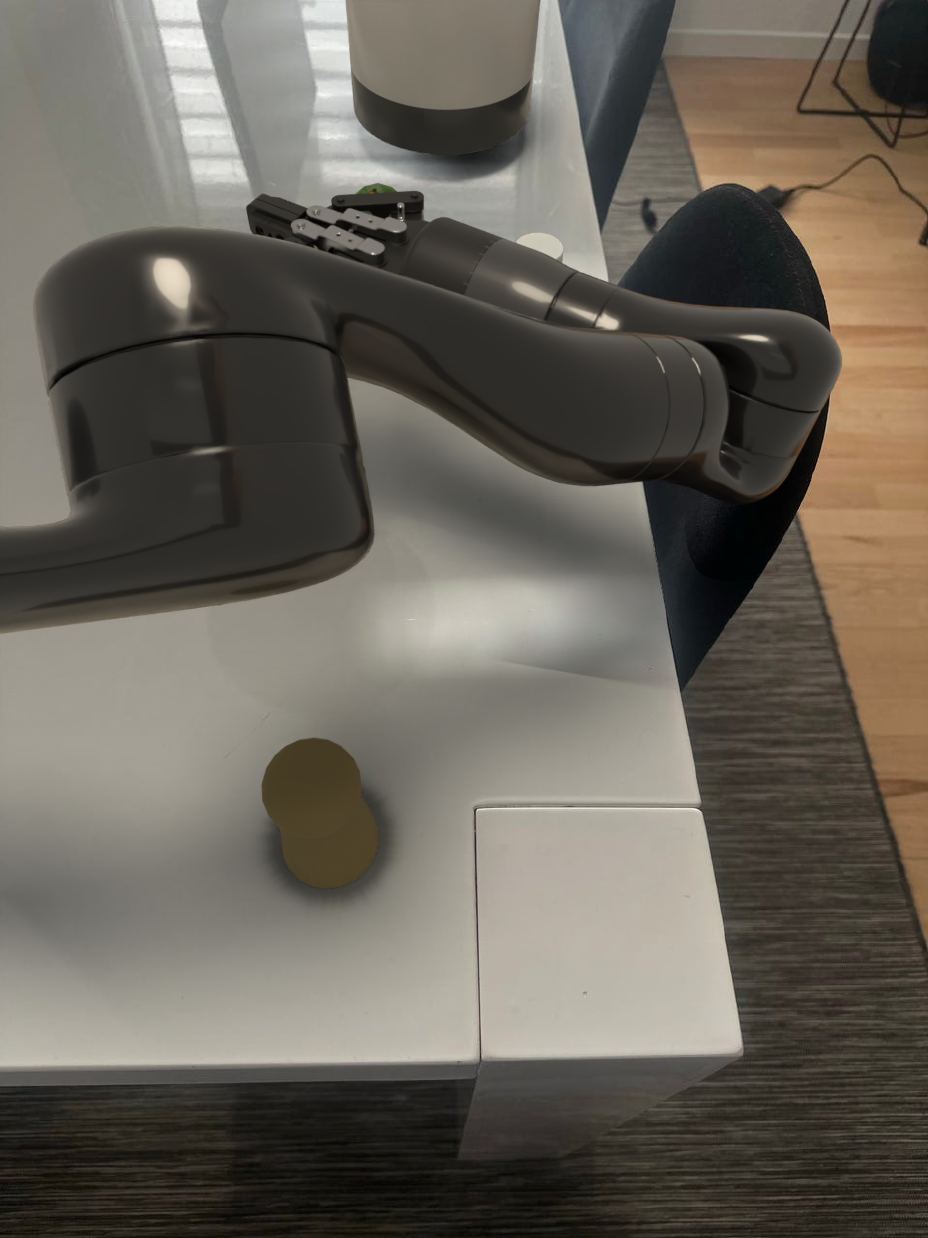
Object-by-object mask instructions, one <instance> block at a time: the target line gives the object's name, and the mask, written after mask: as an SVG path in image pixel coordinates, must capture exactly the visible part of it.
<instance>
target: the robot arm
mask: <svg viewBox="0 0 928 1238" xmlns="http://www.w3.org/2000/svg"><path fill="white" fill-rule="evenodd" d="M330 202H331V205H328V206H327V207H324V206H322V205H312V206H311V205H310V206H309V207H306V206H303V205H300V204H298V203H296V202H292V201H290V200H287V199H285V198H282V197H279V196H271V195H269V194H266V193H261V194H259V195H258V196H257V197H255V198H254V199H253V200H252V201H250V203H248V204H247V205H246V207H245V211H246V215H247V216H246V217H247V222H248V226H249V229H250V232H251V233H250V232H244V231H238V230H231V229H226V228H225V229H224V228H218V227H210V226H182V225H181V226H148V227H140V228H136V229H130V230H124V231H118V232H113V233H110V234H107V235H104V236H100V237H98V238H95V239H92V240H90V241H88V242H84V243H82V244H80V245H78V246H76V247H75V248H73V249H72V250H70V251H68V252H67V253H66V254H64V255H63V256H61V257H60V258H58V259H57V260H55V261H54V262H53V263H52V264H51V265H50V267H49V268H48V269H47V270H46V272H45V273H44V274H43V275H42V276H41V278H40V279H39V281H38V282H37V285H36V288H35V291H34V294H33V299H32V317H33V325H34V333H35V339H36V346H37V349H38V350H37V351H38V356H39V361H40V366H41V372H42V378H43V383H44V387H45V388H44V389H45V393H46V396H47V398H48V401H47V404H48V408H49V414H50V418H51V425H52V428H53V433H54V438H55V443H56V448H57V453H58V459H59V462H60V467H61V473H62V478H63V482H64V483H63V484H64V487H65V492H66V496H67V500H68V505H69V509H70V511H69V515H68V516H67V517H66V518H64V519H61V520H59V521H55V522H50V523H43V524H37V525H22V526H21V525H19V526H15V525H14V526H6V525H5V526H3V525H0V635H2V634H3V635H4V634H10V633H18V632H25V631H33V630H34V631H35V630H41V629H42V630H43V629H49V628H50V629H51V628H57V627H63V626H71V625H79V624H80V625H81V624H86V623H87V624H88V623H96V622H102V621H110V620H117V619H118V620H119V619H126V618H135V617H141V616H148V615H149V616H150V615H157V614H163V613H164V614H165V613H172V612H179V611H180V612H181V611H186V610H194V609H201V608H207V607H215V606H222V605H223V606H224V605H229V604H233V603H241V602H247V601H252V600H258V599H263V598H267V597H271V596H277V595H282V594H287V593H290V592H294V591H298V590H301V589H305V588H309V587H312V586H315V585H316V586H317V585H318V584H321V583H325V582H327V581H330V580H332V579H334V578H336V577H339V576H340V575H343V574H344V573H346V572H348V571H350V570H351V569H353V568H355V567H356V566H357V565H358V564H360V562H362V561H363V560H364V559H365V558H366V557H367V555H368V554H369V553H370V552H371V549H372V547H373V545H374V541H375V535H376V533H375V519H374V511H373V506H372V499H371V494H370V493H371V492H370V488H369V483H368V478H367V473H366V472H367V471H366V467H365V464H364V458H363V451H362V447H361V440H360V436H359V432H358V431H359V430H358V425H357V420H356V415H355V410H354V404H353V399H352V393H351V389H350V384H349V379H351V380H356V381H360V382H364V383H367V384H371V385H373V386H378V387H381V388H384V389H386V390H388V391H391V392H393V393H396V394H399V395H401V396H402V397H405V398H406V399H408V400H411V402H414V403H416V404H418V405H420V406H422V407H424V408H425V409H428V410H429V411H431V412H433V413H434V414H436V415H438V416H439V417H441V418H442V419H444V420H445V421H447V422H448V423H451V424H452V425H454V426H455V427H457V428H458V429H460V430H461V431H462V432H464V433H466V434H467V435H468V436H470V437H471V438H473V439H474V440H476V441H477V442H479V443H480V444H481V445H483V446H485V447H486V448H488V449H490V450H491V451H493V452H494V453H496V454H497V455H498V456H499V457H502V458H503V459H505V460H507V461H508V462H510V464H513V465H514V466H516V467H518V468H519V469H522V470H523V471H525V472H528V473H530V474H533V475H535V476H537V477H540V478H543V479H544V480H548V481H551V482H554V483H558V484H563V485H569V486H575V487H604V486H614V485H625V484H633V483H645V482H655V481H656V482H663V483H664V482H665V483H668V484H674V485H677V486H682V487H686V488H690V489H692V490H695V491H697V492H698V493H701V494H704V495H706V496H708V497H711V498H713V499H716V500H718V501H721V502H726V503H729V504H735V505H748V504H753V503H756V502H758V501H761V500H763V499H764V498H766V497H768V496H769V495H771V494H772V493H774V492H775V491H776V490H777V489H778V488H779V487H780V486H781V485H782V484H783V482H784V481H785V480H786V478H787V477H788V476H789V474H790V472H791V470H792V468H793V466H794V464H795V462H796V460H797V458H798V456H799V454H800V453H801V451H802V449H803V447H804V445H805V443H806V441H807V439H808V437H809V436H810V433H811V432H812V429H813V427H814V425H815V424H816V422H817V420H818V418H819V416H820V414H821V412H822V409H823V408H824V407H825V404H826V403H827V401H828V399H829V397H830V396H831V394H832V391H833V390H834V387H835V385H836V383H837V381H838V379H839V377H840V374H841V371H842V367H843V356H842V350H841V348H840V345H839V343H838V342H837V339H836V338H835V337H834V336H833V334H832V333H831V332H830V330H829V329H827V328H826V326H825V325H823V324H822V323H821V322H819V321H817V320H816V319H815V318H813V317H811V316H808V315H806V314H804V313H801V312H797V311H793V310H787V309H778V308H771V307H750V306H749V307H747V306H744V307H743V306H718V305H707V304H706V305H705V304H696V303H688V302H680V301H674V300H669V299H666V298H665V299H664V298H660V297H656V296H655V297H654V296H652V295H646V294H644V293H640V292H637V291H635V290H631V289H628V288H626V287H622V286H620V285H618V284H615V283H611V282H609V281H606V280H603V279H601V278H598V277H596V276H593V275H590V274H588V273H585V272H581V271H579V270H577V269H575V268H573V267H571V266H569V265H567V264H565V263H563V262H562V263H561V262H560V261H558V260H556V259H554V258H552V257H551V256H549V255H547V254H544V253H542V252H540V251H537V250H534V249H532V248H529V247H526V246H523V245H521V244H518V243H516V242H515V241H512V240H509V239H508V238H504V237H501V236H500V235H497V234H493V233H491V232H488V231H486V230H483V229H480V228H477V227H475V226H472V225H469V224H466V223H464V222H461V221H458V220H455V219H453V218H450V217H446V216H440V217H436V218H434V219H432V220H431V221H428V220H425V195H424V192H423V193H422V192H421V191H419V190H407V191H406V190H405V191H403V190H401V191H397V192H383V193H365V194H356V193H349V194H347V193H346V194H337V195H334V196H333V197H332V198H331V200H330ZM361 211H369V212H371V215H370V214H367V213H364V212H361ZM390 214H391V217H390V216H389V215H390Z"/></svg>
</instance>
